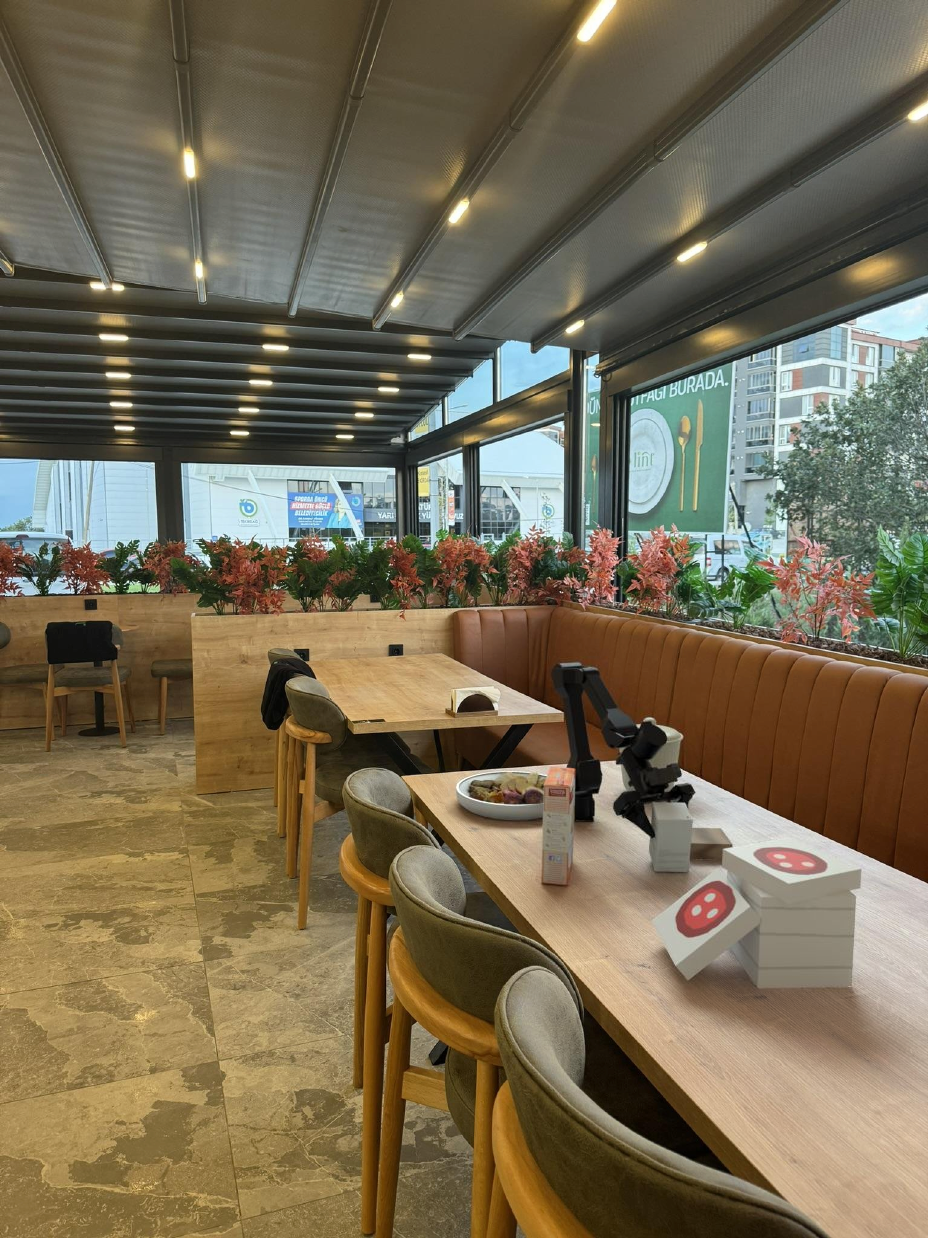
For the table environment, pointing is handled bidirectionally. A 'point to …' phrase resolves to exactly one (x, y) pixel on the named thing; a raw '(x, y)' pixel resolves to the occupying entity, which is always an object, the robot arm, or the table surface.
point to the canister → (660, 753)
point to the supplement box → (670, 837)
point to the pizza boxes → (769, 916)
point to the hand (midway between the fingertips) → (671, 834)
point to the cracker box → (558, 825)
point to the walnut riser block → (708, 843)
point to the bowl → (503, 795)
